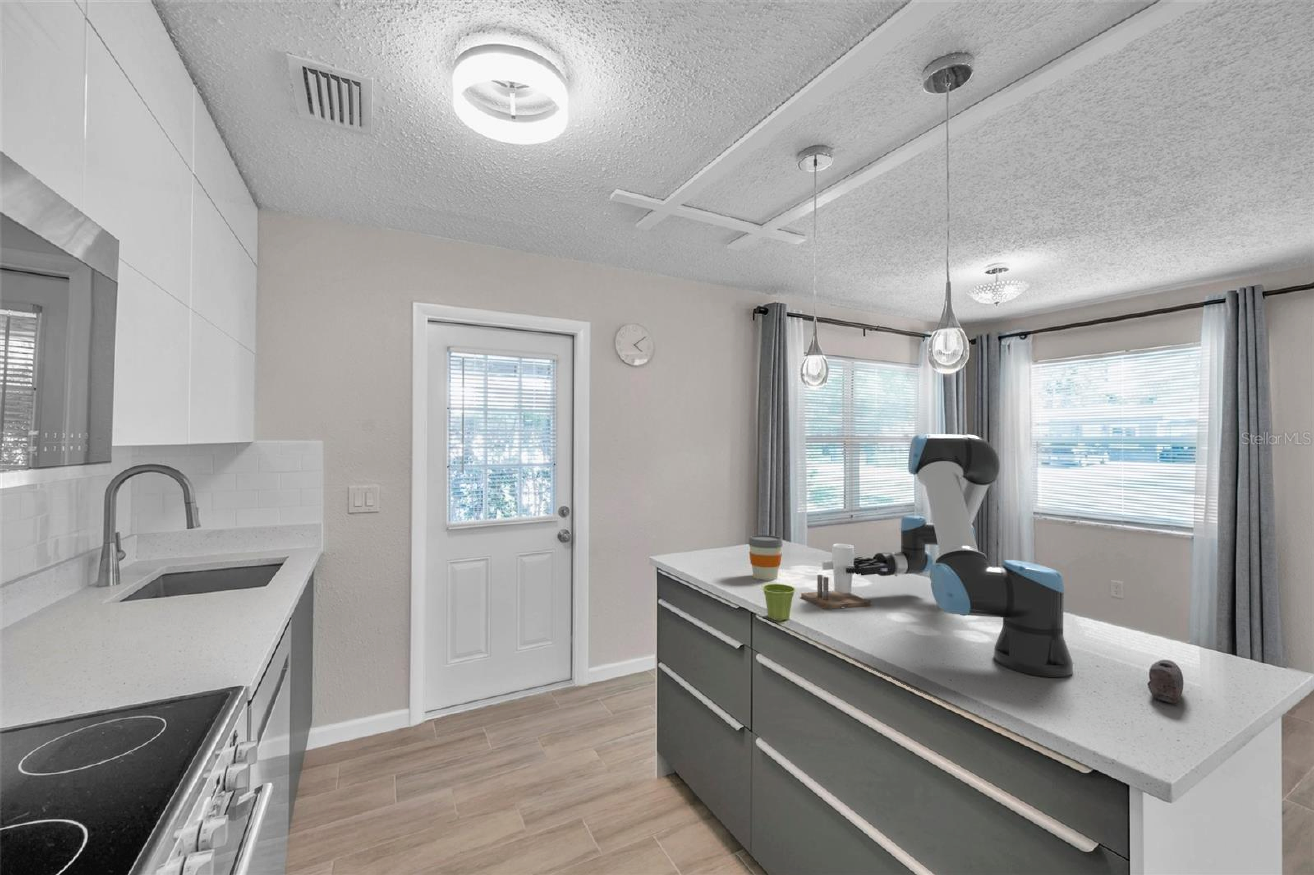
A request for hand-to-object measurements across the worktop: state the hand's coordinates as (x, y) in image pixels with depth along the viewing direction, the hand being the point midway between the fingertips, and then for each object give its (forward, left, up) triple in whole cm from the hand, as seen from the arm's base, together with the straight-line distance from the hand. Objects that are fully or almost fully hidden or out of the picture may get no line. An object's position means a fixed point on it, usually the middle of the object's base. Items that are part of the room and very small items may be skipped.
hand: (829, 568), depth 176 cm
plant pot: (-26, +3, -11) cm, 28 cm away
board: (+2, -1, -11) cm, 11 cm away
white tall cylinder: (+4, -3, -8) cm, 10 cm away
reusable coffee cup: (+12, +31, -11) cm, 36 cm away
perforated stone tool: (-13, -80, -11) cm, 81 cm away
